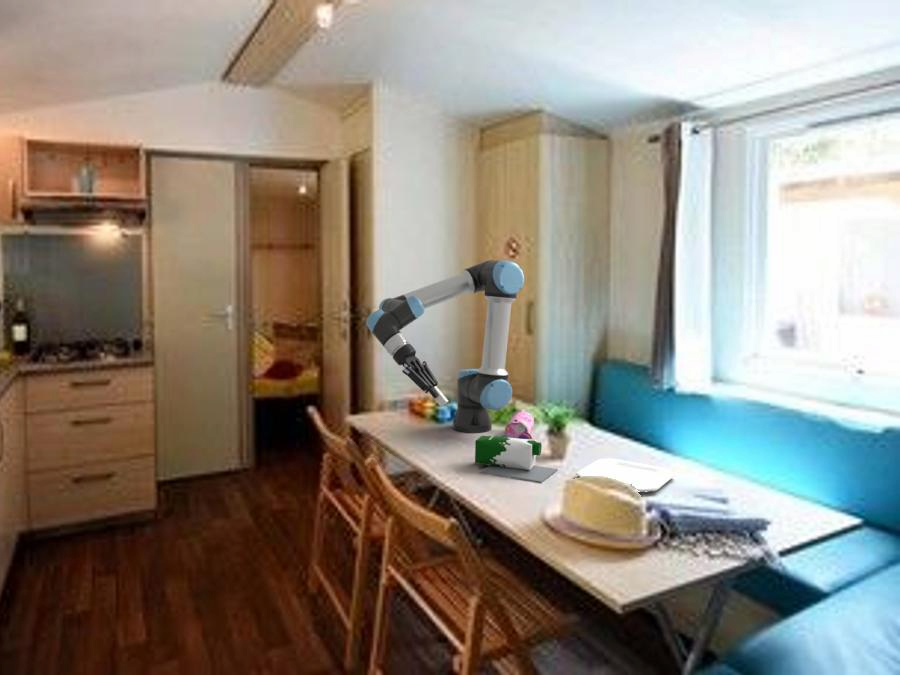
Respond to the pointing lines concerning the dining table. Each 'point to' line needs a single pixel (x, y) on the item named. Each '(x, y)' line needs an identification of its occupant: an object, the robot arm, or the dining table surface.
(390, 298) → the robot arm
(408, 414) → the dining table surface
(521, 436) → the rainbow cloud toy
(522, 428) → the pencil case
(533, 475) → the topple mat
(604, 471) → the plate
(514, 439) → the fresh milk carton
